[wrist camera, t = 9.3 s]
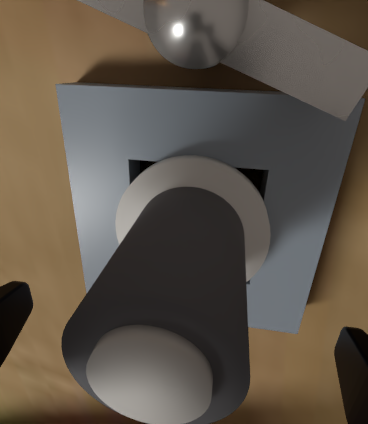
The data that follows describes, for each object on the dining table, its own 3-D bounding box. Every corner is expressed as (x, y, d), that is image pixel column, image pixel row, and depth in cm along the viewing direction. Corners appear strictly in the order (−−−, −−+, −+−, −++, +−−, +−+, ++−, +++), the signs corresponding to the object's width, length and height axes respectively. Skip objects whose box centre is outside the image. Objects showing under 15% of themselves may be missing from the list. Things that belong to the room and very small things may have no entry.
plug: (275, 149, 12) (340, 290, 4) (256, 271, 15) (275, 489, 7) (129, 141, 13) (-29, 247, 5) (137, 257, 16) (41, 439, 8)
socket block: (348, 94, 11) (365, 98, 10) (291, 310, 16) (297, 333, 15) (75, 82, 12) (55, 84, 11) (100, 285, 17) (88, 304, 16)
